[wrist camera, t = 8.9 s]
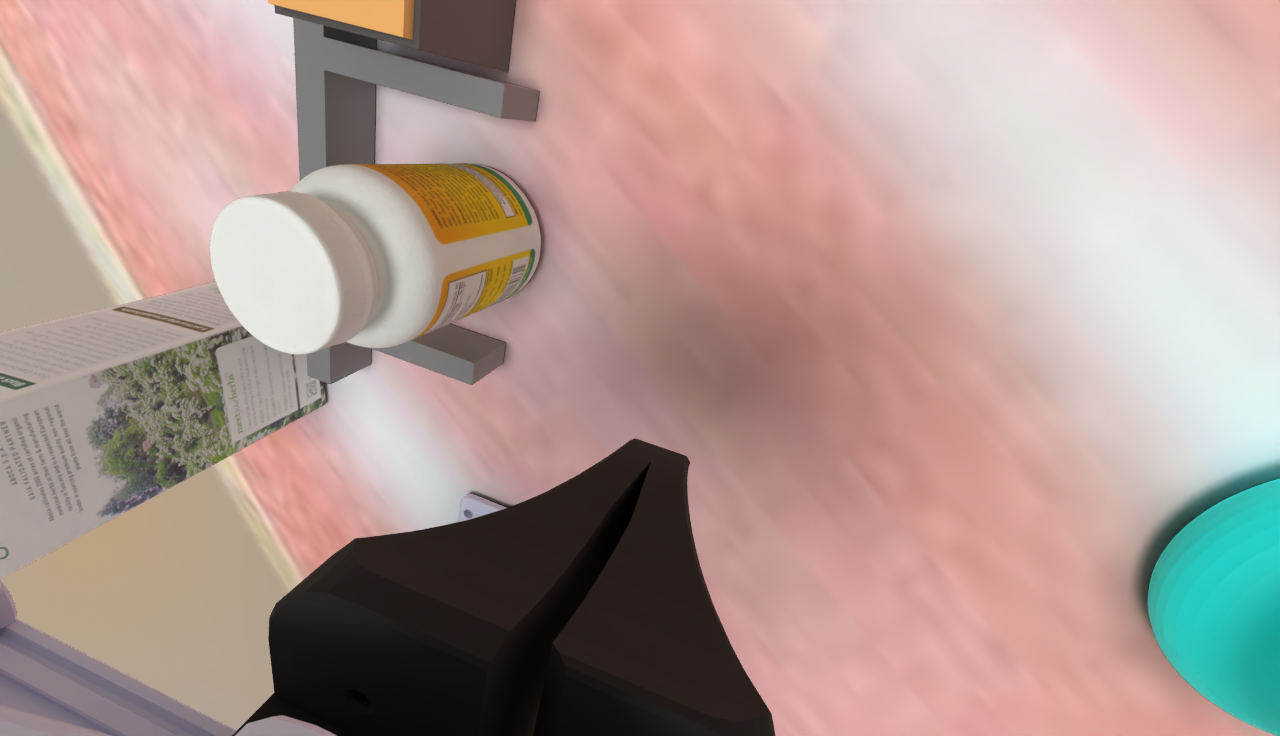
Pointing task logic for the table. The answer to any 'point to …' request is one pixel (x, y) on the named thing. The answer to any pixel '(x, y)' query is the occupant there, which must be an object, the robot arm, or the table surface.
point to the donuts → (1225, 605)
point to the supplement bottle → (373, 253)
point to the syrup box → (129, 411)
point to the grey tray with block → (345, 120)
